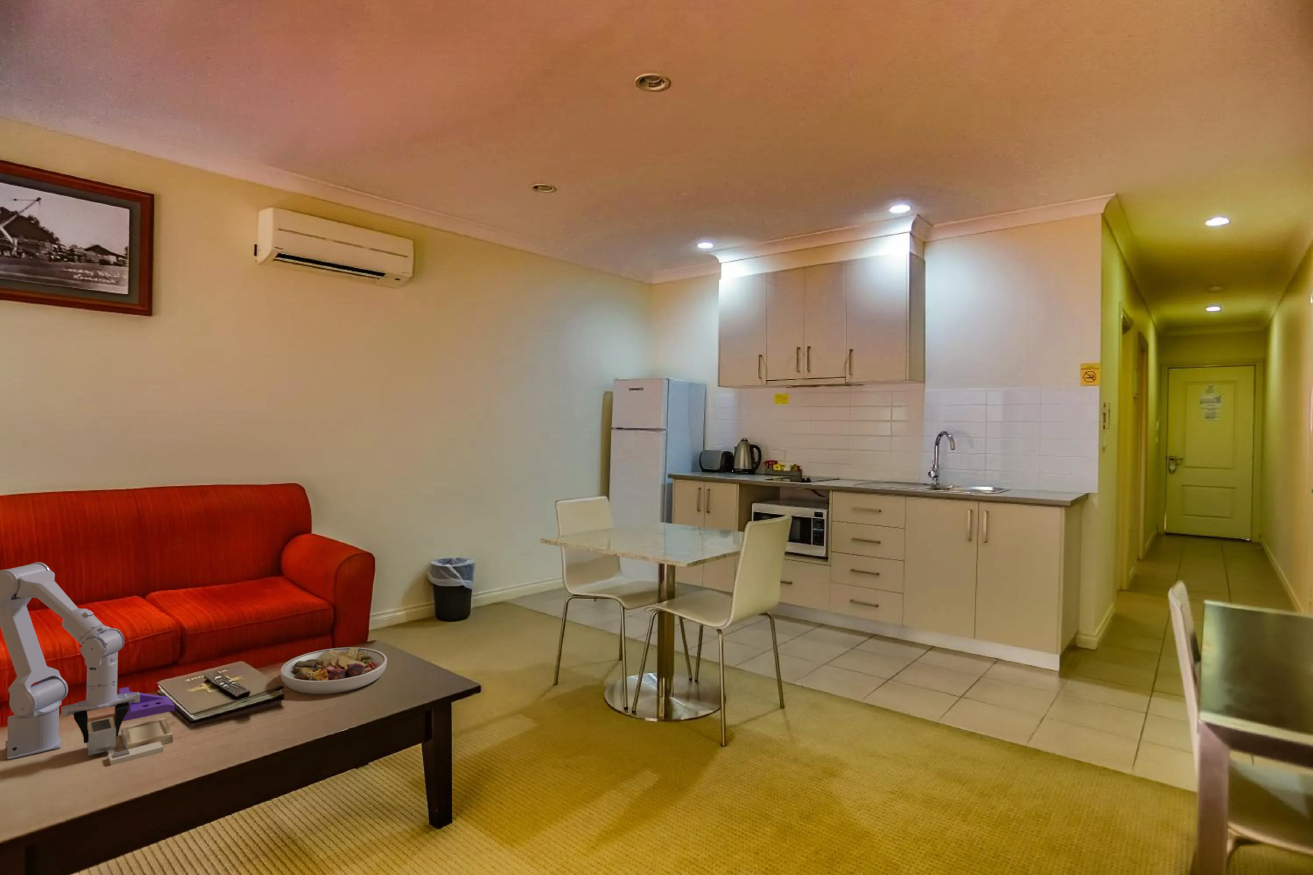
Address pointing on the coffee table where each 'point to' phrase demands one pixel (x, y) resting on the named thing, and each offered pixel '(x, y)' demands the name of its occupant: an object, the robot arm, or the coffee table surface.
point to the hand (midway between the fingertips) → (100, 737)
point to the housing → (101, 735)
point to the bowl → (333, 670)
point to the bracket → (147, 705)
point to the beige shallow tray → (147, 733)
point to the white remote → (135, 753)
